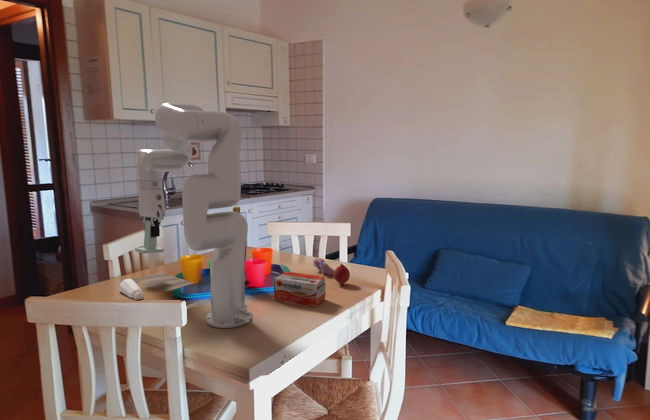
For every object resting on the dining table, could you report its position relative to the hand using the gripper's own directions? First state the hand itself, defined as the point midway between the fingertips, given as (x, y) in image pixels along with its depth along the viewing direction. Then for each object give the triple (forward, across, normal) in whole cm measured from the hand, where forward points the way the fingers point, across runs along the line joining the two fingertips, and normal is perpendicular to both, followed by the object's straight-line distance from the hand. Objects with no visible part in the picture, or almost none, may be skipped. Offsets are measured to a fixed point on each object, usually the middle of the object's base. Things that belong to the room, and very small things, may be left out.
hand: (152, 235), depth 160 cm
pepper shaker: (+14, -4, +13) cm, 20 cm away
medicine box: (+17, -53, -18) cm, 59 cm away
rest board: (+17, -5, 0) cm, 18 cm away
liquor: (+17, -25, -17) cm, 35 cm away
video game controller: (+17, -42, -47) cm, 65 cm away
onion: (+17, -55, -40) cm, 70 cm away
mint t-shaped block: (+6, 0, +1) cm, 6 cm away
